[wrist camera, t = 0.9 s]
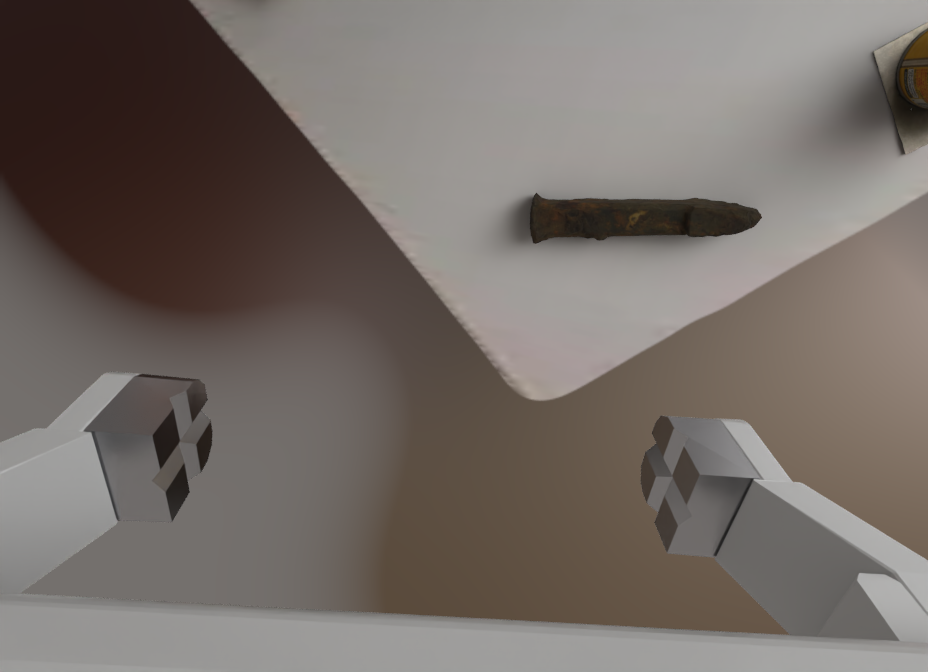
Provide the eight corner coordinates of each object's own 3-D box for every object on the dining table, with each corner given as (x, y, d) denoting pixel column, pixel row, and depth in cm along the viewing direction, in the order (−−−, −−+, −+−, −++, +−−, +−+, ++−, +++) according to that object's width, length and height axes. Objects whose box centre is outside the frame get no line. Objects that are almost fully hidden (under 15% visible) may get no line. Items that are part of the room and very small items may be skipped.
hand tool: (530, 234, 51) (527, 248, 47) (532, 191, 49) (529, 201, 45) (746, 241, 48) (763, 257, 44) (755, 195, 47) (774, 207, 42)
